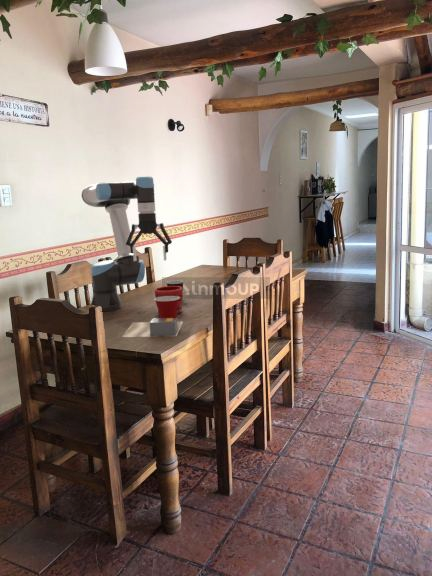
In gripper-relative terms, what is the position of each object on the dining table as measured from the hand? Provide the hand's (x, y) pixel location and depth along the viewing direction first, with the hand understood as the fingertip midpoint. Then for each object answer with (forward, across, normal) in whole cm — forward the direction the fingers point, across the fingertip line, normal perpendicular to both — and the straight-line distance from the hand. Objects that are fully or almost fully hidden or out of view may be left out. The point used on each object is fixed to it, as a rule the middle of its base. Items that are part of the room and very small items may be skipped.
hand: (150, 260), depth 215 cm
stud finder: (+25, +10, -28) cm, 39 cm away
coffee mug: (+27, +6, +33) cm, 43 cm away
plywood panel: (+27, +4, -22) cm, 35 cm away
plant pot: (+27, +6, +9) cm, 29 cm away
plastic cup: (+25, +9, -16) cm, 31 cm away
